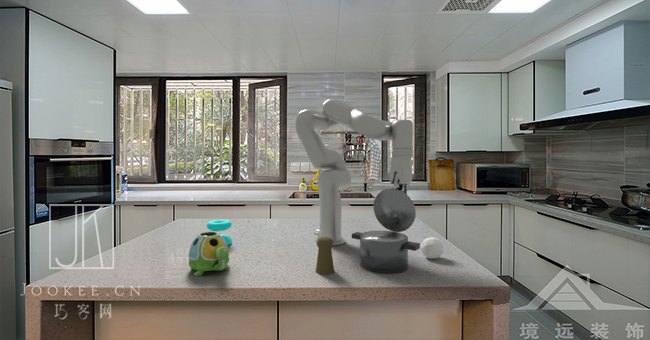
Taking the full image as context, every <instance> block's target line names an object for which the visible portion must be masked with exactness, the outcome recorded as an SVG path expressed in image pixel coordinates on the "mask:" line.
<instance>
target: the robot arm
mask: <svg viewBox="0 0 650 340" xmlns="http://www.w3.org/2000/svg"><path fill="white" fill-rule="evenodd" d="M321 110H322V111H320V110H317V109H316V110H315V109H303V110H301V111H300V112H298V114H297V116H296V119H295V122H294V123H295V131H296V134H297V136H298V138H299V140H300V142H301V144H302V146H303V148H304V150H305V152H306V155H307V157H308V159H309V161H310V163H311V166H312V168H314V169H315V170H319V171H320V170H322V172H320V173H319V174H318V177H317V180H316V183H317V190H318V199H319V201H318V202H319V229H316V230H315V231H313V235H314V236H317V238H316V239H315V242H316V243H317V240H318V239H319V238H320V237H330V238H331V239H332V240H333V246H334V247H335V246H340V245H343V244H344V243H346V239H345V238H344V237H342V197H341V194H340V191H343V190H347V189H348V188H349V187H350V185H351V183H352V177H351V173H350V172H349V170H348V168H347V165H346V163H345V161H344V159H343V158H342V156H341V155H340V153H339V151H337V150H336V149H333V148H327V147H326V146H325V145H324V143H323V140H322V138H321V137H320V135H319V134H318V133H317V131H325V130H328V129H330V128H333V127H334V126H337V125H339V124H341V125H343V126H345V127H347V128H349V129H351V130H352V131H354V132H356V133H358V134H360V135H362V136H364V137H367V138H369V139H372V140H377V141H383V142H387V141H391V160H390V161H391V162H390V169H389V170H390V171H389V183H390V184H393V188H394V189H398V190H401V191H403V192H404V193H406V194H407V195H408V193H407V192H408V187H409V186H410V184H411V182H412V181H413V160H412V158H413V157H414V156H413V155H414V149H413V147H414V146H413V145H414V142H413V141H414V123H413V121H412V120H410V119H397V120H394V121H393V122H392V121H386V120H384V119H378V118H376V117H373V116H371V115H368V114H367V113H364V112H362V111H361V110H360V109H359V108H358V107H356V106H353V105H350V104H349V103H347V102H346V101H343V100H338V99H335V98H328V99H327V100H325V101H324V102H323V104H322V106H321ZM315 130H317V131H315ZM333 246H332V247H333Z"/></svg>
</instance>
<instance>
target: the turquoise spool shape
mask: <svg viewBox="0 0 650 340" xmlns="http://www.w3.org/2000/svg"><path fill="white" fill-rule="evenodd" d="M232 224H233V223H232V222H231V220H229V219H215V220H209V221H208V222H207V223H206V228H207V230H209V231H215V232H222V231H223V232H224V231H227V230H229V229H231V227H232ZM219 235H220V236H222V237H223V238H224V239H225V241H226V243H227V246H229V245H231V243H232V242H233V240H232V237H231V236H230V235H227V234H219Z"/></svg>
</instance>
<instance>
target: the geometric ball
mask: <svg viewBox="0 0 650 340" xmlns="http://www.w3.org/2000/svg"><path fill="white" fill-rule="evenodd" d="M420 251H421V252H422V254H423V256H424V257H426V258H428V259H429V260H431V259H432V260H435V259H438V258H440V257H441V256H442V254H443V253H444V245H443V243H442V242H441V241H440V239H438V238H436V237H431V236H430V237H427V238H424V239H423V241H422V242H421V243H420Z"/></svg>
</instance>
